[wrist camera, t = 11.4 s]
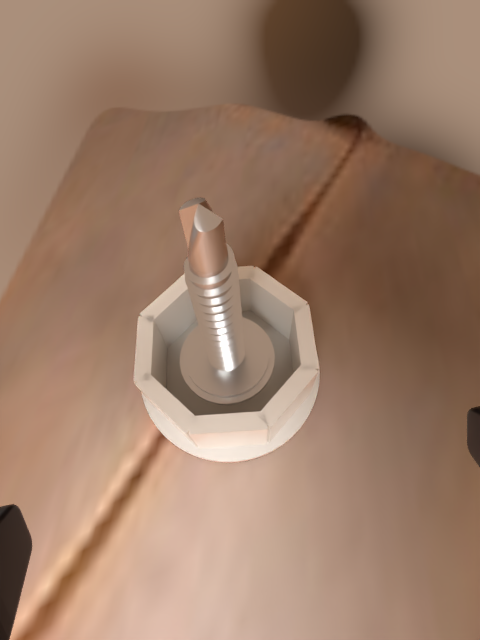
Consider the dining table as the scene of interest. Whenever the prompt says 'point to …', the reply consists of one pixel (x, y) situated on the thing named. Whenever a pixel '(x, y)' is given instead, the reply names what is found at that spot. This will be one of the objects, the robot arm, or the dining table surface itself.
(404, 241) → the dining table surface
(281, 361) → the white pet bowl
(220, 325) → the screw
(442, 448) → the dining table surface
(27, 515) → the dining table surface
